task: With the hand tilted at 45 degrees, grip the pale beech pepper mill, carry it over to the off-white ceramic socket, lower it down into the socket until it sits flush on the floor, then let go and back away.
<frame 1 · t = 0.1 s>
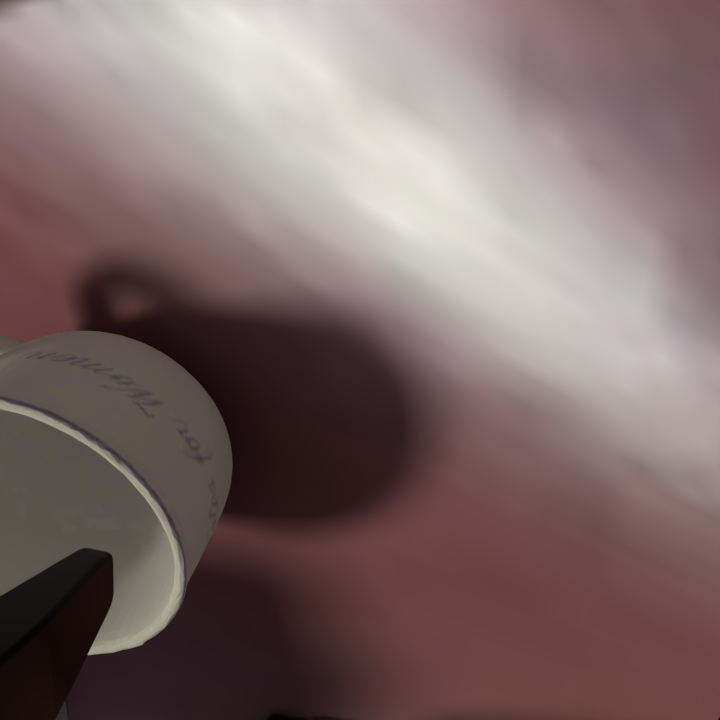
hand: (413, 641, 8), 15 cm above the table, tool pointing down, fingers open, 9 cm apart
teacup: (116, 390, 24), on the table
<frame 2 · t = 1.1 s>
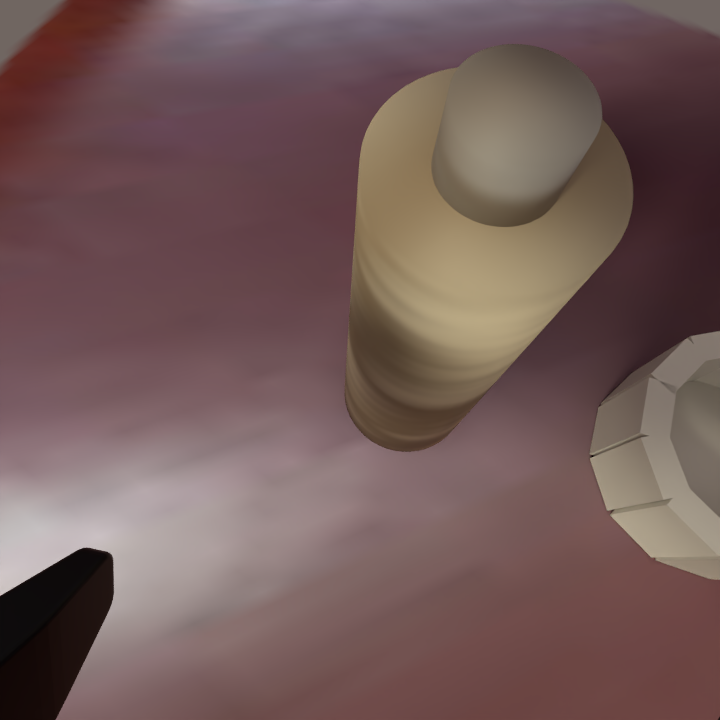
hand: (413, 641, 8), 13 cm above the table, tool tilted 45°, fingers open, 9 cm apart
pepper mill: (404, 392, 23), on the table
socket: (695, 464, 23), on the table
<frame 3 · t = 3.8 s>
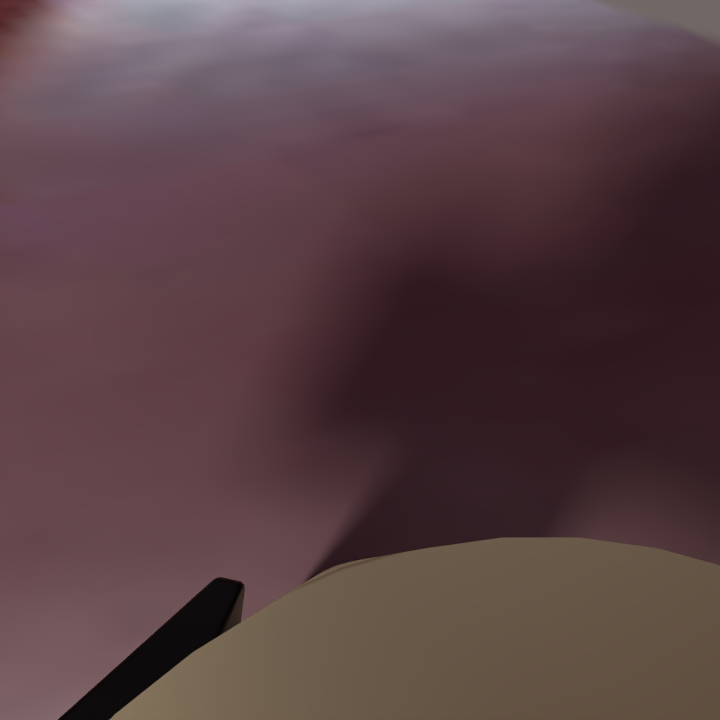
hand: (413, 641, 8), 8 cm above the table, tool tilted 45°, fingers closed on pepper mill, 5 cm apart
pepper mill: (365, 661, 15), on the table, touching gripper
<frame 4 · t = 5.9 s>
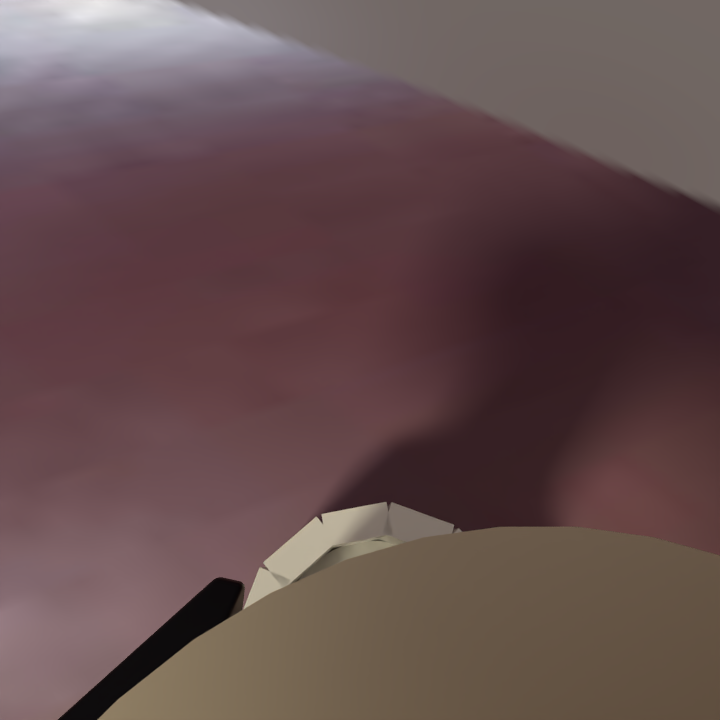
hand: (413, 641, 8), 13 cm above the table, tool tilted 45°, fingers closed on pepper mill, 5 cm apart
pepper mill: (365, 660, 15), point 6 cm above the table, touching gripper
socket: (371, 637, 20), on the table
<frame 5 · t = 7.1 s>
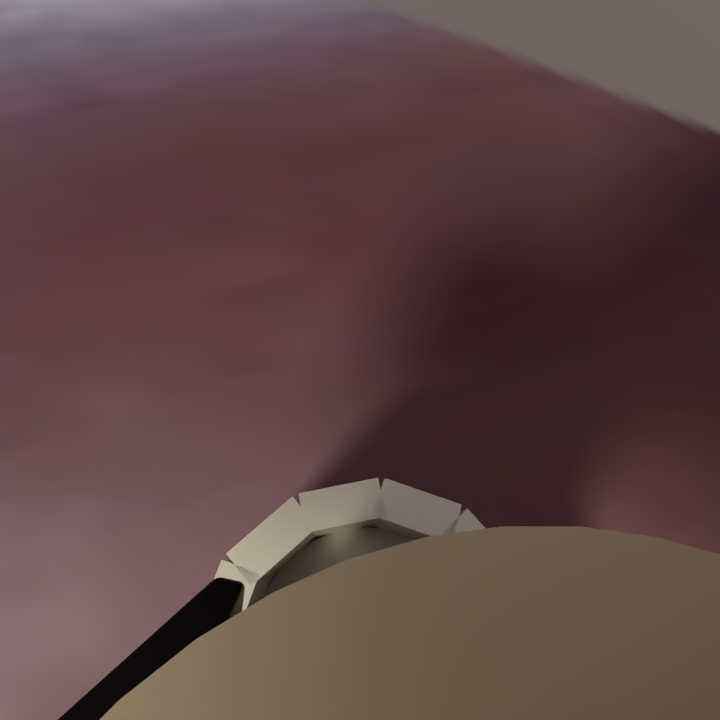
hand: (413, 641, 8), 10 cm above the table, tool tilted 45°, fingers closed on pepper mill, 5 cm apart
pepper mill: (365, 660, 15), point 2 cm above the table, touching gripper
socket: (364, 642, 17), on the table
when the fingers open (8 cm above the table, at t = 7.9 s): pepper mill stays where it is, resting on socket.
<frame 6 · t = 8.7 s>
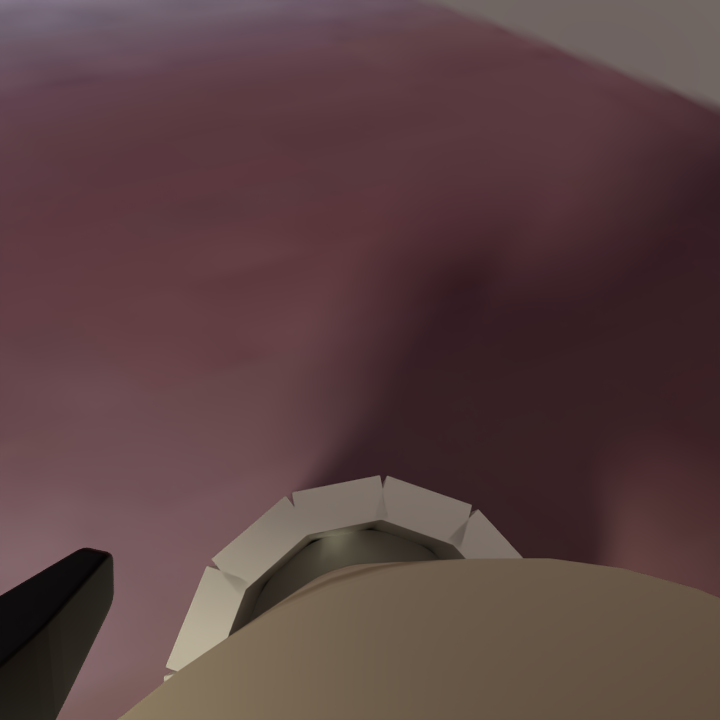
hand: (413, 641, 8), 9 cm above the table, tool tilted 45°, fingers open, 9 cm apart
pepper mill: (363, 664, 15), point 1 cm above the table, touching socket
socket: (364, 655, 15), on the table
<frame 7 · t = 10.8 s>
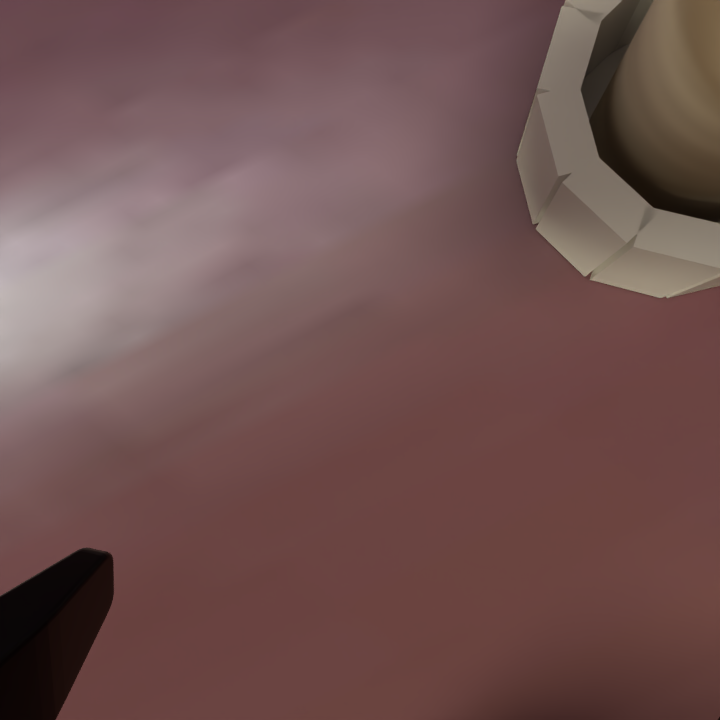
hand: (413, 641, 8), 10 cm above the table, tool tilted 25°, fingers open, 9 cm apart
pepper mill: (674, 146, 16), point 1 cm above the table, touching socket
socket: (665, 154, 17), on the table
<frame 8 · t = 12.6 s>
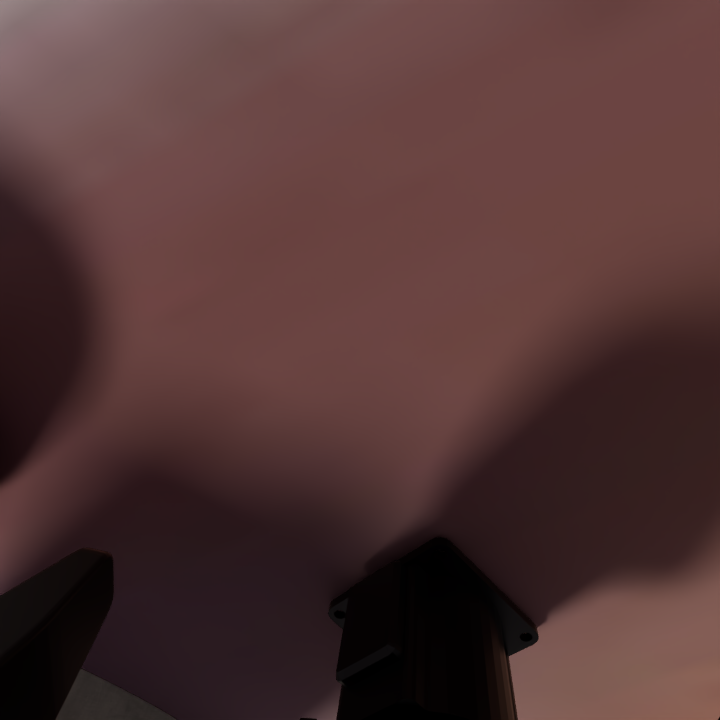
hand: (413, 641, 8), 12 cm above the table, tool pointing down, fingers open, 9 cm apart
hip flask: (105, 699, 29), on the table
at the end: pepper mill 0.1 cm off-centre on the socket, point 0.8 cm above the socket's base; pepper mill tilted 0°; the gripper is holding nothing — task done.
